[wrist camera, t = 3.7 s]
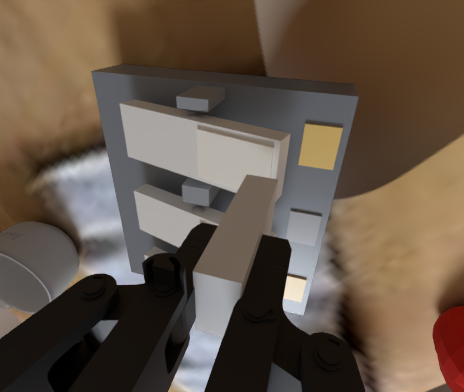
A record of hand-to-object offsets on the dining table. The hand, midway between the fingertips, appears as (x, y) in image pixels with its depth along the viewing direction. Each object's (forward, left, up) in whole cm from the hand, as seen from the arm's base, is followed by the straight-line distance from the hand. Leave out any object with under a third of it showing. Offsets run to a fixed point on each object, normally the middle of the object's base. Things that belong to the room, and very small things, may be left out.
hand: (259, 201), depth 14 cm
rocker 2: (+7, -5, -5) cm, 10 cm away
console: (+7, -5, -12) cm, 15 cm away
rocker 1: (0, -5, -5) cm, 7 cm away
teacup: (+21, -30, -12) cm, 39 cm away
